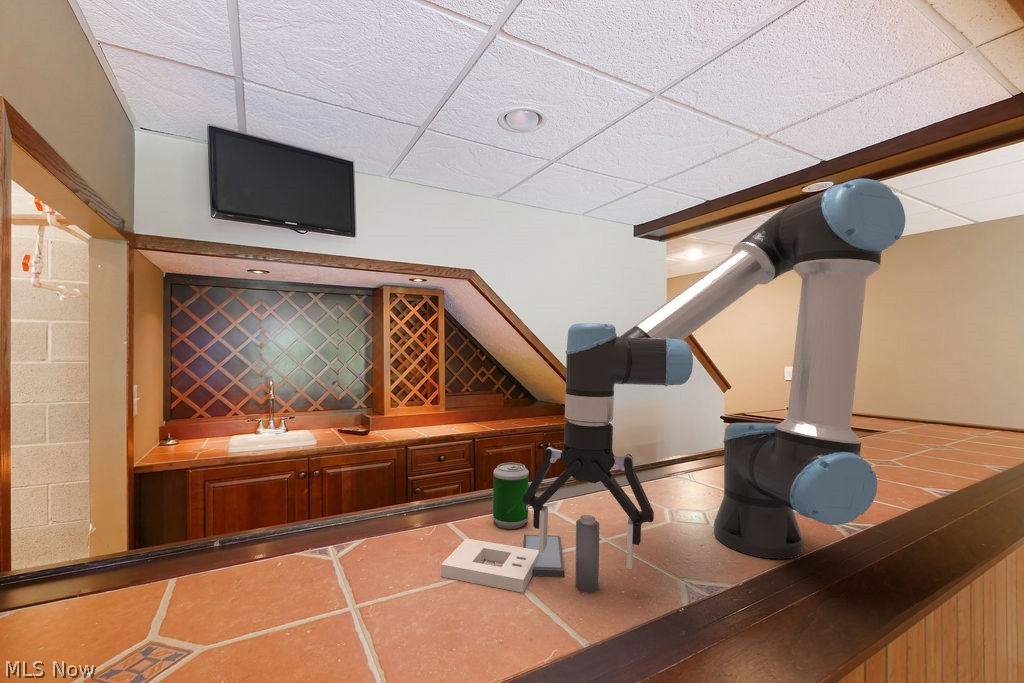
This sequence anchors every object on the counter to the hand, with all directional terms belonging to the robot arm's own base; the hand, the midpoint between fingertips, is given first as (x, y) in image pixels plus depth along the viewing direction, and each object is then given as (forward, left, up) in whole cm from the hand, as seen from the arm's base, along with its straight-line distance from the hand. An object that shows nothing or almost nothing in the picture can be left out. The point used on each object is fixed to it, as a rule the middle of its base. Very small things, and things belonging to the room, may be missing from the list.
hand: (584, 556), depth 69 cm
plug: (0, 0, -5) cm, 5 cm away
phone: (+9, -7, -5) cm, 12 cm away
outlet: (+16, 0, -5) cm, 16 cm away
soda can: (+19, -19, -5) cm, 27 cm away
